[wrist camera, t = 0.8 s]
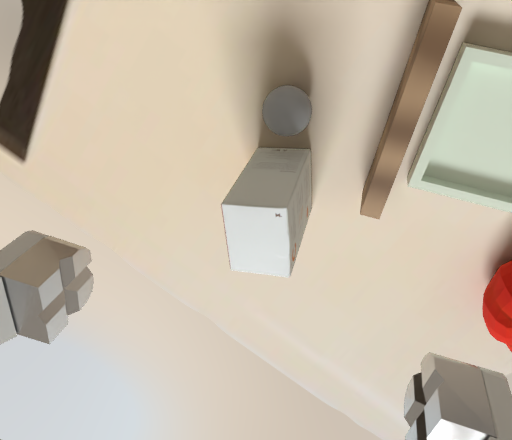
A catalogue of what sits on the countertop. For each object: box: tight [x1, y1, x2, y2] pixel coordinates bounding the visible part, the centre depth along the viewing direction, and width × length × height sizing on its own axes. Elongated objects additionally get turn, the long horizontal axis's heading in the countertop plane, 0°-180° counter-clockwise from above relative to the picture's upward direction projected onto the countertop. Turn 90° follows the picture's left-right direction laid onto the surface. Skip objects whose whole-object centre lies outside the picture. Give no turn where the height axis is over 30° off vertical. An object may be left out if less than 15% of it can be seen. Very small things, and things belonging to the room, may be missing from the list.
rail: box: [360, 0, 462, 219], centre depth 39 cm, size 20×2×5 cm, turn 172°
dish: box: [407, 42, 512, 213], centre depth 39 cm, size 14×14×2 cm
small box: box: [221, 147, 312, 278], centre depth 44 cm, size 8×6×13 cm
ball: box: [262, 85, 312, 136], centre depth 42 cm, size 5×5×5 cm
